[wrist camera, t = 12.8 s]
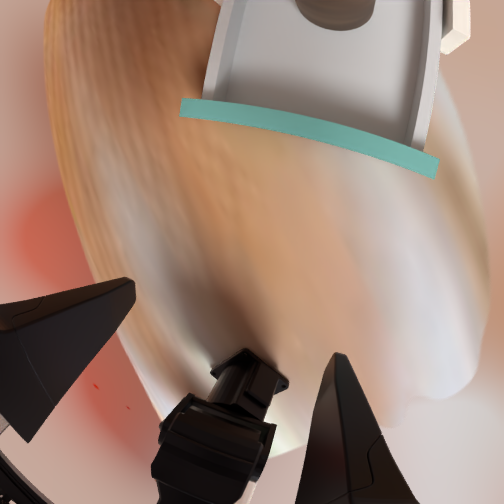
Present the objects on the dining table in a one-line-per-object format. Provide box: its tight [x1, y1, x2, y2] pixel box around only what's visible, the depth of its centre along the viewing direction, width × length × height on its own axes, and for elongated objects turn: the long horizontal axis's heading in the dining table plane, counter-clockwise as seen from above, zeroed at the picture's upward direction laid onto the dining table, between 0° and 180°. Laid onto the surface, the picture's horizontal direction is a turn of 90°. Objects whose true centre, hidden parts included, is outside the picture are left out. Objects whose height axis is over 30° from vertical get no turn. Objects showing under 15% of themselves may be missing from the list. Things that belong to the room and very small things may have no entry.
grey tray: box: [179, 0, 443, 179], centre depth 12 cm, size 16×15×4 cm
